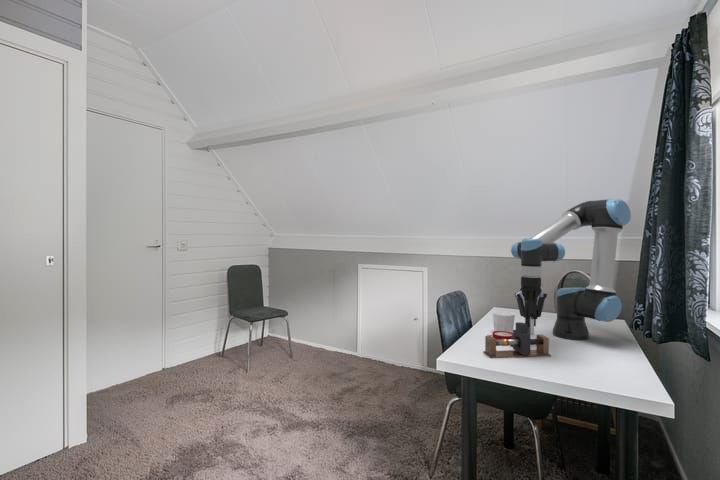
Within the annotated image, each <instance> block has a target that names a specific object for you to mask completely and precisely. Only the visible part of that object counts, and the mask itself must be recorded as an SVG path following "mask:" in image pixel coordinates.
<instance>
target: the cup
mask: <svg viewBox="0 0 720 480" xmlns="http://www.w3.org/2000/svg"><path fill="white" fill-rule="evenodd" d="M515 315H516V313H514V312H512V311H511V312H510V311H505V310H501V311H500V310H499V311H498V310H495V311H493V312H492V318H493V319H492V320H493V332H494V331H507V332H511V333H513V330H514V328H515V327H514V326H515Z"/></svg>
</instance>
